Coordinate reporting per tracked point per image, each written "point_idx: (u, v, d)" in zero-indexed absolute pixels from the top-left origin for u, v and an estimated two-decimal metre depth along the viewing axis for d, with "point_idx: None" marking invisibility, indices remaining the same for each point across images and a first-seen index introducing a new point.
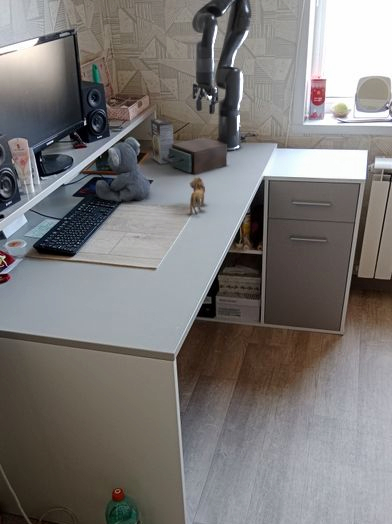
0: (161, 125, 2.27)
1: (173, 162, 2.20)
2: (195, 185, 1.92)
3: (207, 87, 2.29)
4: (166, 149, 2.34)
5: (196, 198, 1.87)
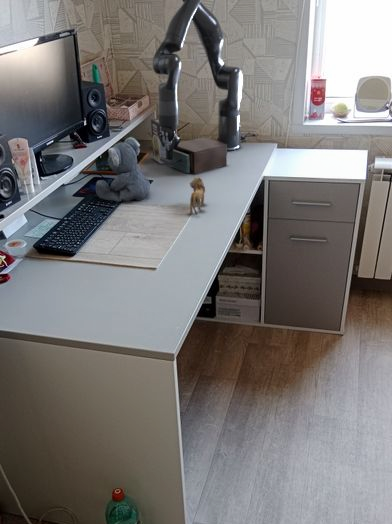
0: None
1: (171, 162, 2.20)
2: (195, 185, 1.92)
3: (170, 131, 2.14)
4: None
5: (196, 198, 1.87)
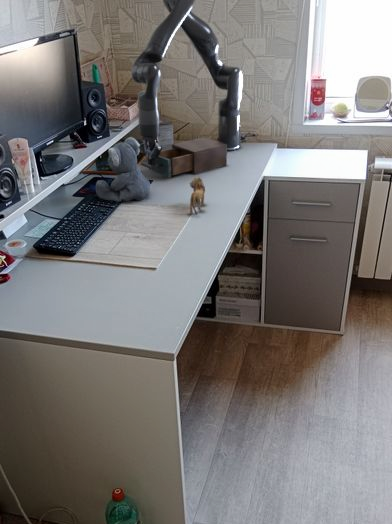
0: (161, 125, 2.27)
1: (152, 167, 2.15)
2: (195, 185, 1.92)
3: (151, 140, 2.11)
4: (166, 149, 2.34)
5: (196, 198, 1.87)
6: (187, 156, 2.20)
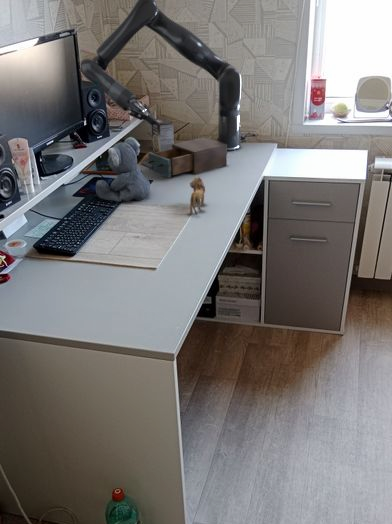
0: (161, 125, 2.28)
1: (152, 167, 2.15)
2: (195, 185, 1.92)
3: None
4: (166, 149, 2.34)
5: (196, 198, 1.87)
6: (186, 156, 2.20)
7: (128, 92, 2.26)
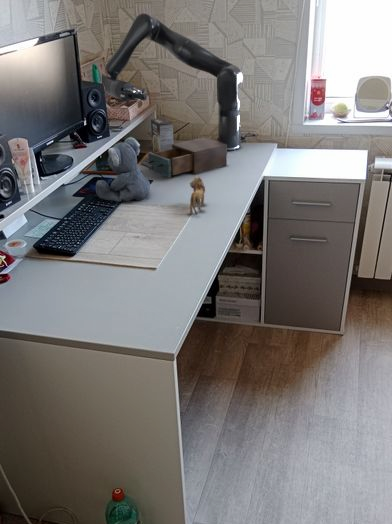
0: (161, 125, 2.27)
1: (152, 167, 2.15)
2: (195, 185, 1.92)
3: None
4: (166, 149, 2.34)
5: (196, 198, 1.87)
6: (186, 156, 2.20)
7: (122, 82, 2.40)
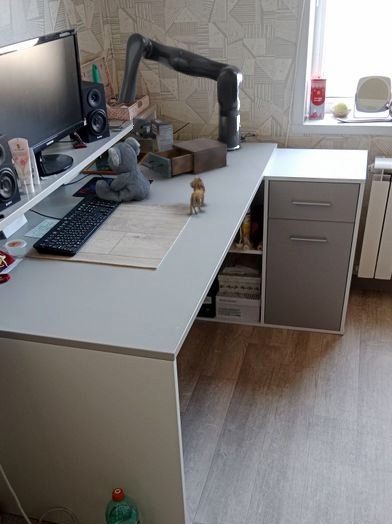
0: (160, 125, 2.27)
1: (152, 167, 2.15)
2: (195, 185, 1.92)
3: None
4: (166, 149, 2.34)
5: (196, 198, 1.87)
6: (186, 156, 2.20)
7: (141, 120, 2.41)
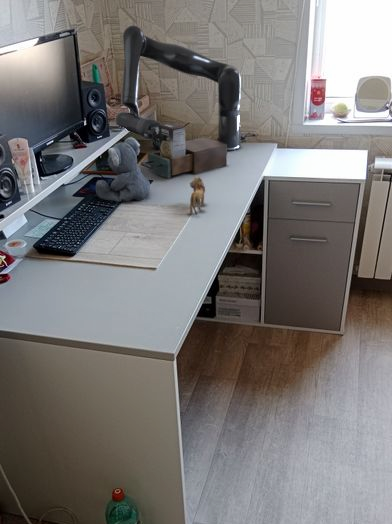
0: (174, 130, 2.13)
1: (151, 167, 2.15)
2: (195, 185, 1.92)
3: None
4: (179, 155, 2.19)
5: (196, 198, 1.87)
6: (186, 156, 2.20)
7: (149, 120, 2.25)
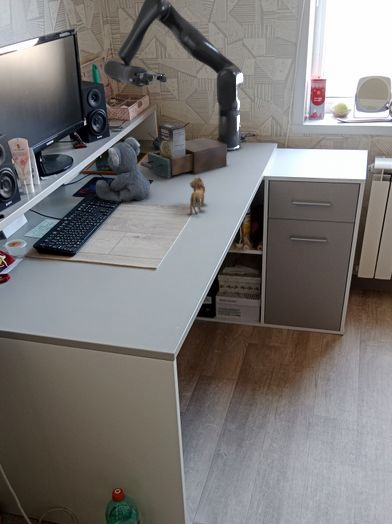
0: (174, 130, 2.13)
1: (151, 167, 2.15)
2: (195, 185, 1.92)
3: None
4: (179, 155, 2.19)
5: (196, 198, 1.87)
6: (186, 156, 2.20)
7: (135, 67, 2.35)
